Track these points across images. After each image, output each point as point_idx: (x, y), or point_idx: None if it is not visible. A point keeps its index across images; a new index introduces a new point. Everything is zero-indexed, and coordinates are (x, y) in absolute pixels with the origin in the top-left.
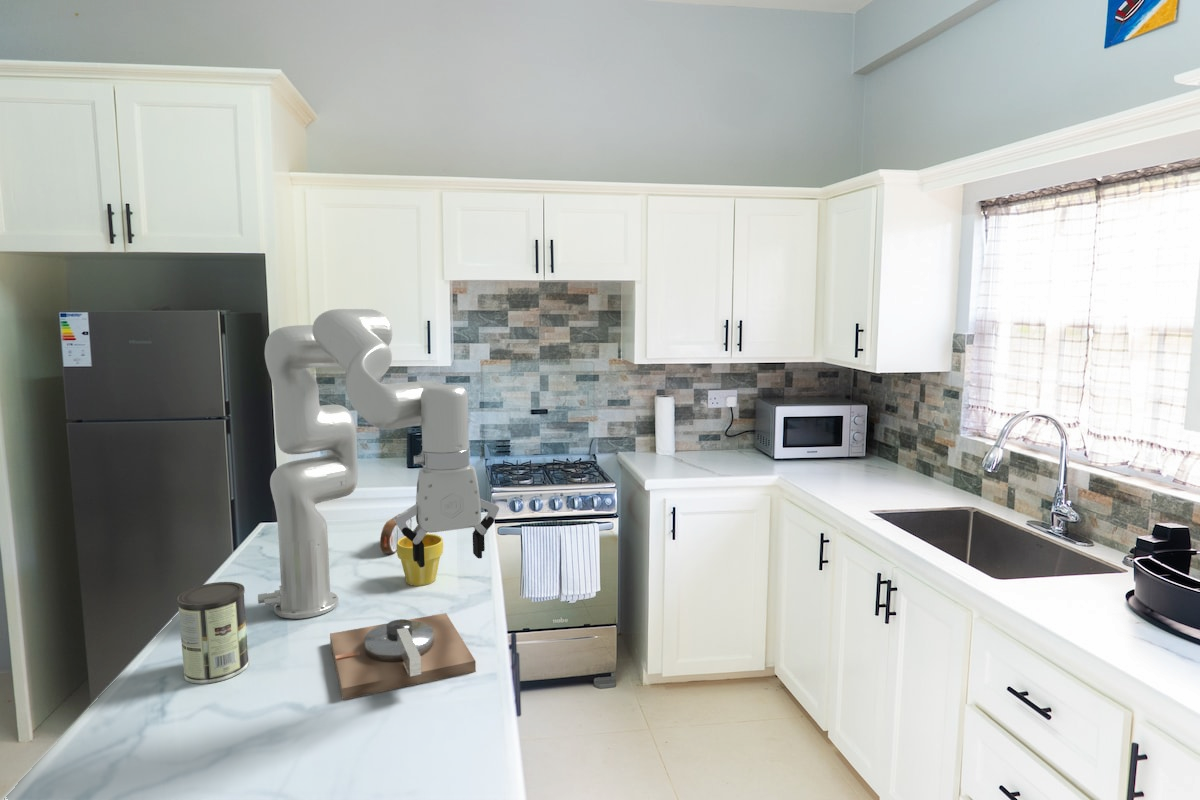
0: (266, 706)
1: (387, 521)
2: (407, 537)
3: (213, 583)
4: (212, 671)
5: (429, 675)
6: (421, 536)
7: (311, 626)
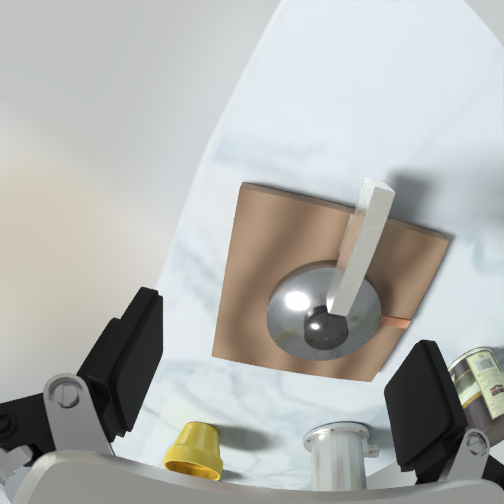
0: (492, 275)
1: None
2: (496, 460)
3: None
4: (490, 356)
5: (325, 203)
6: (465, 463)
7: (358, 408)
